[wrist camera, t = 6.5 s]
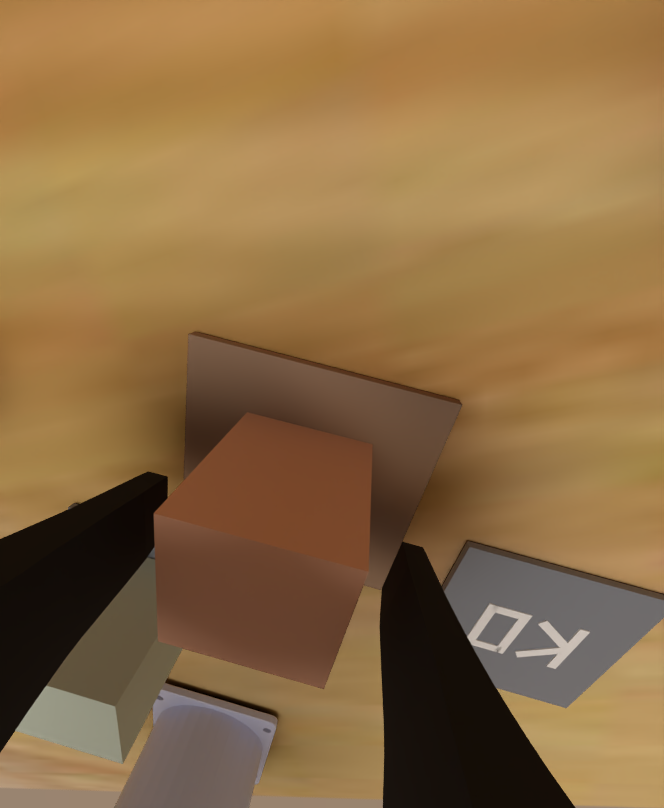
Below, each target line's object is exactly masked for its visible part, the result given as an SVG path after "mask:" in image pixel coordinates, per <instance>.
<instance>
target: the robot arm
mask: <svg viewBox="0 0 664 808" xmlns="http://www.w3.org/2000/svg"><path fill="white" fill-rule="evenodd" d="M167 491H168V477H167V476H163V475H159V474H156V473H152V472H146V473H144V474H142V475H139V476H137V477H135V478H133V479H131V480H129V481H127V482H125V483H123V484H121V485H119V486H116V487H114V488H112V489H110V490H108V491H106V492H104V493H102V494H100V495H98V496H96V497H94V498H91V499H89V500H87V501H85V502H83V503H81V504H79V505H77V506H74V507H72V508H70V509H68V510H66V511H64V512H62V513H59V514H57V515H55V516H53V517H50V518H48V519H46V520H43V521H41V522H39V523H36V524H34V525H32V526H30V527H27V528H25V529H23V530H20V531H18V532H16V533H13V534H11V535H9V536H7V537H4V538H2V539H0V752H1V751H2V749H3V748H4V746H5V745H6V743H7V742H8V740H9V739H10V737H11V736H12V735H13V733H14V732H15V730H16V729H17V727H18V726H19V724H20V723H21V721H22V720H23V718H24V717H25V715H26V714H27V713H28V711H29V710H30V708H31V707H32V705H33V704H34V702H35V701H36V700H37V698H38V697H39V695H40V694H41V692H42V691H43V690H44V688H45V687H46V685H47V684H48V683H49V681H50V680H51V678H52V677H53V676H54V674H55V673H56V671H57V670H58V668H59V667H60V666H61V664H62V663H63V661H64V660H65V659H66V657H67V656H68V655H69V653H70V652H71V651H72V650H73V648H74V647H75V646H76V644H77V643H78V642H79V640H80V639H81V638H82V637H83V636H84V634H85V633H86V632H87V631H88V629H89V628H90V627H91V626H92V625H93V623H94V622H95V621H96V620H97V619H98V617H99V616H100V615H101V614H102V613H103V611H104V610H105V609H106V608H107V606H108V605H109V604H110V603H111V602H112V600H113V599H114V598H115V597H116V596H117V594H118V593H119V592H120V591H121V590H122V588H123V587H124V586H125V585H126V583H127V582H128V581H129V580H130V579H131V577H132V576H133V575H134V574H135V572H136V571H137V570H138V569H139V567H140V566H141V565H142V564H143V562H144V561H145V560H146V559H147V557H148V556H149V554H150V553H151V551H152V550H153V548H154V547H155V541H154V512H155V511H156V510H157V509H158V508H159V507H160V506H161V505H162V504H163V503H164V502H165V500H166V499H167ZM380 647H381V671H382V693H383V716H384V786H383V808H575V806H574V805H573V804H572V802H571V801H570V799H569V798H568V797H567V795H566V794H565V792H564V791H563V790H562V788H561V787H560V785H559V784H558V783H557V781H556V780H555V778H554V777H553V776H552V774H551V773H550V771H549V770H548V768H547V767H546V765H545V764H544V762H543V761H542V759H541V758H540V756H539V755H538V753H537V752H536V750H535V749H534V747H533V746H532V744H531V743H530V741H529V740H528V738H527V737H526V735H525V734H524V732H523V730H522V729H521V727H520V726H519V724H518V723H517V721H516V719H515V718H514V716H513V715H512V713H511V712H510V710H509V708H508V707H507V705H506V703H505V702H504V700H503V699H502V697H501V695H500V694H499V692H498V690H497V689H496V687H495V685H494V684H493V682H492V680H491V678H490V677H489V675H488V673H487V671H486V670H485V668H484V666H483V664H482V663H481V661H480V659H479V657H478V656H477V654H476V652H475V650H474V648H473V647H472V645H471V643H470V641H469V639H468V637H467V635H466V634H465V632H464V630H463V628H462V626H461V624H460V622H459V620H458V618H457V616H456V614H455V613H454V611H453V609H452V607H451V605H450V603H449V601H448V599H447V597H446V595H445V593H444V590H443V588H442V586H441V584H440V582H439V580H438V578H437V576H436V574H435V572H434V570H433V567H432V565H431V563H430V561H429V559H428V557H427V555H426V553H425V551H424V549H423V547H420V546H416V545H412V544H409V543H405V542H402V543H401V546H400V548H399V550H398V552H397V555H396V557H395V559H394V561H393V564H392V566H391V568H390V570H389V573H388V575H387V577H386V580H385V582H384V584H383V586H382V596H381V611H380ZM277 722H278V720H277V718H276V717H275V716H273V715H270V714H267V713H264V712H260V711H257V710H254V709H250V708H247V707H244V706H240V705H237V704H233V703H230V702H227V701H223V700H220V699H217V698H213V697H210V696H207V695H203V694H200V693H197V692H193V691H190V690H187V689H183V688H180V687H177V686H173V685H170V684H167V683H164V685H163V687H162V689H161V691H160V693H159V695H158V697H157V699H156V701H155V703H154V705H153V729H152V731H151V733H150V735H149V737H148V739H147V742H146V744H145V746H144V748H143V750H142V752H141V754H140V756H139V758H138V760H137V762H136V764H135V766H134V768H133V770H132V772H131V774H130V776H129V778H128V780H127V782H126V784H125V786H124V788H123V790H122V792H121V795H120V796H119V799H118V801H117V803H116V805H115V807H114V808H249V805H250V801H251V797H252V793H253V789H254V785H255V784H258V783H259V781H260V778H261V775H262V771H263V768H264V765H265V762H266V759H267V756H268V752H269V749H270V746H271V743H272V740H273V737H274V734H275V730H276V727H277Z"/></svg>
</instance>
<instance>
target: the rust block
mask: <svg viewBox="0 0 664 808" xmlns="http://www.w3.org/2000/svg"><path fill="white" fill-rule="evenodd" d="M372 448H373V444H370V443H366V442H362V441H358V440H354V439H350V438H346V437H342V436H338V435H334V434H330V433H327V432H323V431H319V430H315V429H311V428H307V427H303V426H299V425H295V424H291V423H287V422H283V421H280V420H276V419H272V418H268V417H264V416H260V415H256V414H252V413H248V412H247V413H246V414H245V415H244V416H243V417H242V418H241V419H240V420H239V421H238V423H237V424H236V425H235V426H234V427H233V428H232V429H231V430H230V431H229V432H228V433H227V434H226V436H225V437H224V438H223V439H222V440H221V441H220V442H219V443H218V444H217V445H216V446H215V447H214V449H213V450H212V451H211V452H210V453H209V454H208V455H207V456H206V457H205V458H204V459H203V460H202V462H201V463H200V464H199V465H198V466H197V467H196V468H195V469H194V470H193V471H192V472H191V473H190V475H189V476H188V477H187V478H186V479H185V480H184V481H183V482H182V483H181V484H180V485H179V486H178V488H177V489H176V490H175V491H174V492H173V493H172V494H171V495H170V496H169V497H168V498H167V499H166V500H165V502H164V503H163V504H162V505H161V506H160V507H159V508H158V509H157V510H156V511H155V512H154V541H155V570H156V600H157V629H158V641H159V642H162V643H166V644H169V645H173V646H176V647H179V648H183V649H186V650H190V651H193V652H197V653H200V654H204V655H207V656H211V657H214V658H218V659H221V660H225V661H228V662H232V663H235V664H239V665H242V666H245V667H249V668H252V669H256V670H259V671H263V672H266V673H270V674H273V675H277V676H280V677H284V678H287V679H291V680H294V681H298V682H301V683H304V684H308V685H311V686H315V687H318V688H322V689H324V688H325V685H326V682H327V680H328V677H329V674H330V672H331V669H332V667H333V664H334V661H335V659H336V656H337V653H338V651H339V648H340V646H341V643H342V640H343V638H344V635H345V633H346V630H347V627H348V625H349V622H350V619H351V617H352V614H353V612H354V609H355V606H356V604H357V601H358V598H359V596H360V593H361V591H362V588H363V585H364V583H365V580H366V577H367V575H368V572H369V544H370V512H371V480H372Z"/></svg>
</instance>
